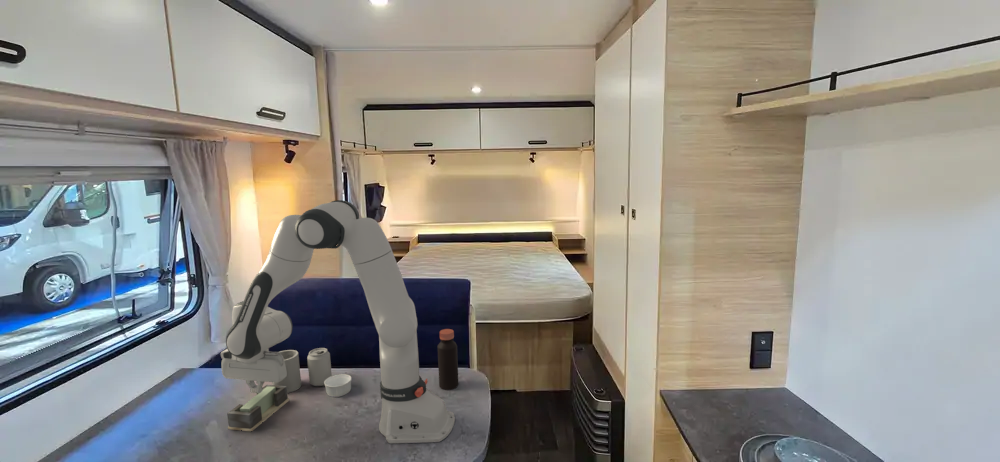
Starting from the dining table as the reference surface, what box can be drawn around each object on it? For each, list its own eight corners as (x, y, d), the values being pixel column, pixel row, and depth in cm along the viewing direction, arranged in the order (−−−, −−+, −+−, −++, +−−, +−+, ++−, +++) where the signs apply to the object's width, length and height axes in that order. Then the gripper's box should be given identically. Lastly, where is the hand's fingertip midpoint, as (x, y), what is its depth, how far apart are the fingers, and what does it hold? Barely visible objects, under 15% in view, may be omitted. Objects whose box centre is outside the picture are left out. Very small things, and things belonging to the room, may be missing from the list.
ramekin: (349, 382, 156) (348, 371, 155) (355, 393, 148) (354, 381, 148) (323, 389, 151) (322, 378, 151) (327, 401, 144) (326, 389, 143)
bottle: (454, 391, 148) (452, 336, 145) (436, 389, 150) (433, 334, 147) (461, 381, 154) (459, 328, 151) (443, 379, 156) (441, 327, 153)
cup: (267, 389, 152) (264, 357, 150) (292, 378, 160) (289, 347, 158) (281, 396, 147) (277, 363, 145) (306, 385, 154) (303, 353, 153)
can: (324, 388, 152) (321, 356, 150) (305, 386, 154) (302, 354, 152) (336, 377, 159) (333, 347, 157) (318, 376, 161) (315, 345, 159)
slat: (277, 400, 143) (275, 386, 142) (251, 424, 130) (249, 408, 129) (268, 400, 143) (266, 386, 142) (241, 423, 130) (239, 408, 130)
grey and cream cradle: (289, 400, 144) (287, 386, 144) (251, 431, 128) (249, 415, 127) (267, 398, 146) (266, 384, 145) (228, 429, 129) (226, 413, 129)
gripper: (289, 348, 135) (293, 389, 137) (231, 344, 138) (236, 384, 140) (275, 357, 129) (279, 400, 131) (215, 352, 132) (220, 394, 134)
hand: (256, 392), depth 136 cm, fingers closed
